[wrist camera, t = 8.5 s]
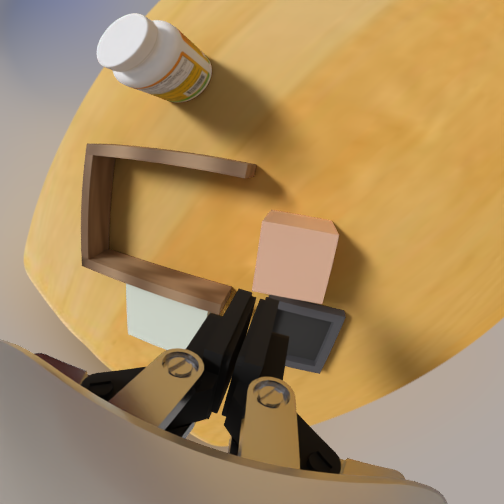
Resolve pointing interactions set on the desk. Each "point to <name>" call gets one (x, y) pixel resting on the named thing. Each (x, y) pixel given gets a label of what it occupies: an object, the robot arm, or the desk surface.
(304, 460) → the robot arm
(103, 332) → the desk surface
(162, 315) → the sage tile
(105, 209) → the wooden tray frame
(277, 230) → the terracotta cube
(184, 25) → the desk surface
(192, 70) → the supplement bottle
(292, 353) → the dark gray rectangular tray
